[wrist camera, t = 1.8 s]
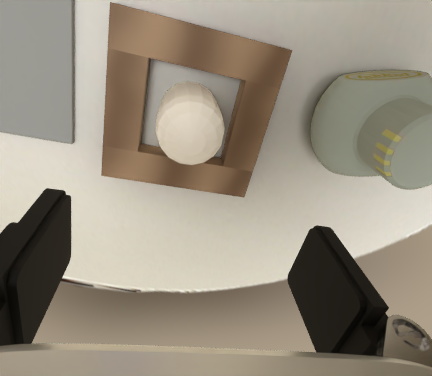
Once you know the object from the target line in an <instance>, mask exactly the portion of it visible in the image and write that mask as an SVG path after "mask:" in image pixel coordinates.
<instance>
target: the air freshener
mask: <svg viewBox="0 0 432 376" xmlns="http://www.w3.org/2000/svg"><path fill="white" fill-rule="evenodd" d="M310 134H311V143H312V147H313V150H314V152H315V155H316V157H317V158H318V160H319V161H320V162H321V164H322V165H323V166H324V167H325V168H326V169H328V170H329V171H331V172H333V173H336V174H341V175H347V176H359V177H364V176H379V175H381V176H382V177H383V178H384V179H386V180H387V181H388V182H390V183H391V184H392V185H394V186H396V187H398V188H401V189H407V190H408V189H418V188H422V187H425V186H428V185H431V184H432V78H431V77H430V75H429V74H428V73H426V72H421V71H411V70H380V71H365V72H355V73H349V74H344V75H341V76H339V77H338V78H337V79H336V80H335V81H334V82H333V83H332V84H331V85H330V86H329V87H328V88H327V90H326V91H325V92H324V93H323V95H322V97H321V98H320V100H319V102H318V104H317V106H316V108H315V111H314V114H313V117H312V121H311V129H310Z"/></svg>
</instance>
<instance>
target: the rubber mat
mask: <svg viewBox="0 0 432 376" xmlns="http://www.w3.org/2000/svg"><path fill="white" fill-rule="evenodd" d="M0 132H2V133H8V134H14V135H20V136H26V137H32V138H38V139H44V140H50V141H55V142H61V143H67V144H73V143H74V0H0Z"/></svg>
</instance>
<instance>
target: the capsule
mask: <svg viewBox="0 0 432 376" xmlns="http://www.w3.org/2000/svg"><path fill="white" fill-rule="evenodd" d="M224 131H225V127H224V122H223V117H222V114H221V111H220V109H219V107H218V104H217V102H216V99H215V98H214V96H213V95H212V93H211V92H210V90H209V89H207V88H206V87H204V86H203V85H201V84H200V83H195V82H190V81H186V82H182V83H178V84H175V85H174V86H173V87H171V88H170V89H169V90H167V92H166V93H165V95H164V97H163V99H162V100H161V104H160V107H159V111H158V115H157V119H156V129H155V132H156V135H157V138H158V142H159V145H160V147H161V149H162V150H163V151H164V152H165V154H166V155H167V156H168V157H169V158H171V159H173V160H174V161H176V162H178V163H181V164H188V165H195V164H199V163H204V162H205V161H207V160H208V159H210V158H212V157H213V156H214V155H215V154H216V153H217V151H218V150H219V148H220V147H221V145H222V140H223V136H224Z"/></svg>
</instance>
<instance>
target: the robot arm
mask: <svg viewBox="0 0 432 376" xmlns="http://www.w3.org/2000/svg"><path fill="white" fill-rule="evenodd" d="M70 258H71V196H69V195H66V193H65V191H63V190H56V189H49V188H47V189H45V190H44V191H43V193H42V194H41V195H40V196H39V198H38V199H37V200H36V201H35V203H34V204H33V205H32V206H31V207H30V209H29V210H28V211H27V212H26V214H25V215H24V216H23V217H22V219H21V220H20V221H19V222H18V223H14V222H13V223H10V224H9V225H7V226H6V228H5V229H4V230H3V231H2V232H1V233H0V376H432V339H431V338H430V336H429V335H428V334H427V333H426V331H425V330H424V329H422V328H421V327H420V326H419V325H418V324H416V323H415V322H413V321H412V320H410V319H408V318H406V317H404V316H400V315H391V316H389V317H388V316H387V315H386V313H385V312H386V311H387V310H388V308H389V307H388V306H387V305H386V303H385V302H384V300H383V299H382V298H381V296H380V295H379V294H378V292H377V291H376V289H375V288H374V287H373V285H372V284H371V282H370V281H369V280H368V278H367V277H366V276H365V274H364V273H363V271H362V270H361V269H360V267H359V266H358V265H357V263H356V262H355V260H354V259H353V258H352V256H351V255H350V253H349V252H348V251H347V249H346V248H345V247H344V245H343V244H342V242H341V241H340V240H339V238H338V237H337V236H336V234H335V233H334V231H333V230H332V229H331V228H330V227H324V226H315V227H314V228H312V229H310V230H309V232H308V234H307V236H306V238H305V241H304V243H303V245H302V247H301V249H300V251H299V253H298V255H297V257H296V259H295V261H294V264H293V266H292V268H291V270H290V272H289V274H288V284H289V286H290V289H291V291H292V294H293V296H294V298H295V301H296V304H297V306H298V308H299V311H300V313H301V316H302V318H303V321H304V323H305V326H306V328H307V330H308V333H309V335H310V338H311V340H312V343H313V345H314V347H315V350H316V353H315V352H293V351H271V350H248V349H224V348H197V347H171V346H143V345H114V344H65V343H63V344H62V343H61V344H60V343H42V344H31V343H32V341H33V339H34V337H35V335H36V332H37V330H38V328H39V326H40V324H41V322H42V320H43V318H44V315H45V313H46V311H47V309H48V306H49V305H50V302H51V300H52V298H53V296H54V294H55V292H56V290H57V287H58V285H59V283H60V281H61V279H62V277H63V275H64V272H65V270H66V268H67V266H68V264H69V261H70Z"/></svg>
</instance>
